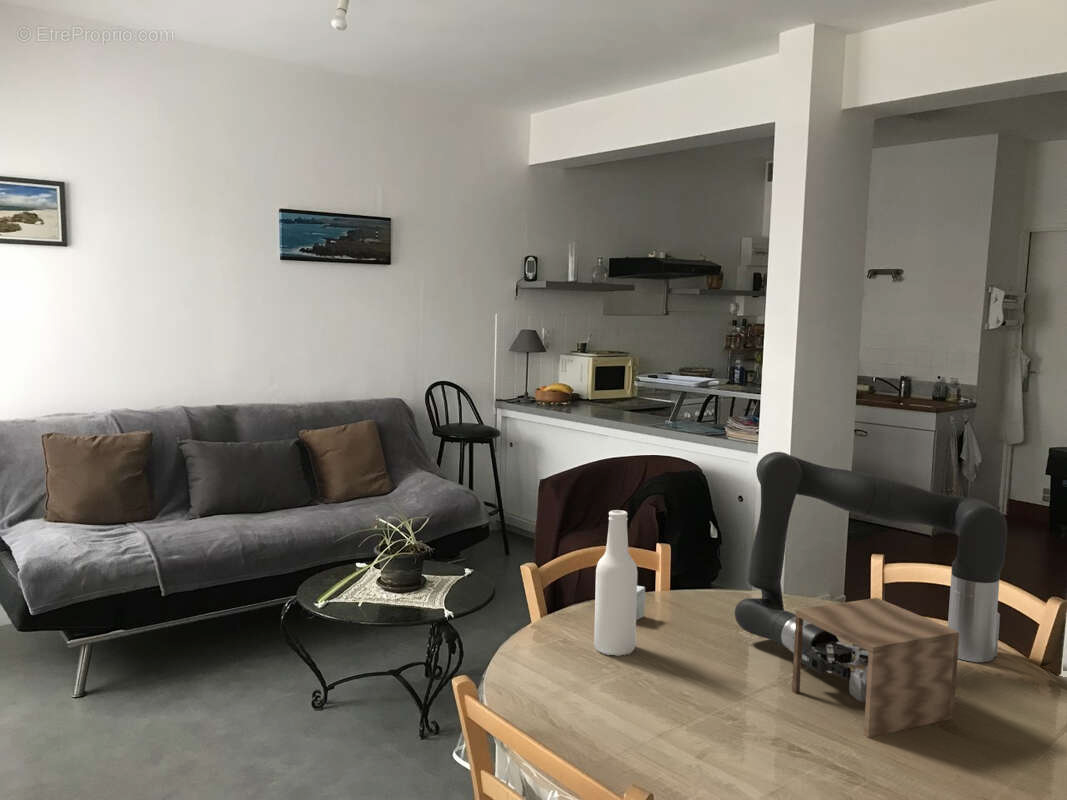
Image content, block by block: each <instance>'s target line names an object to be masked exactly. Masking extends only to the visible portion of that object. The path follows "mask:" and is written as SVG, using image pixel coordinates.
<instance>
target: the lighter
mask: <svg viewBox="0 0 1067 800" xmlns="http://www.w3.org/2000/svg"><path fill="white" fill-rule="evenodd" d="M867 671H868V665H866V667H865V670H863V669H861V668H857V667H856V668H854V670H851V676H850V679H849V687H848V693H849V694H850V695H851V696H852V697H853V698H854V699H856V700H857V701H859V702H863V703H864V702H866V688H867Z"/></svg>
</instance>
